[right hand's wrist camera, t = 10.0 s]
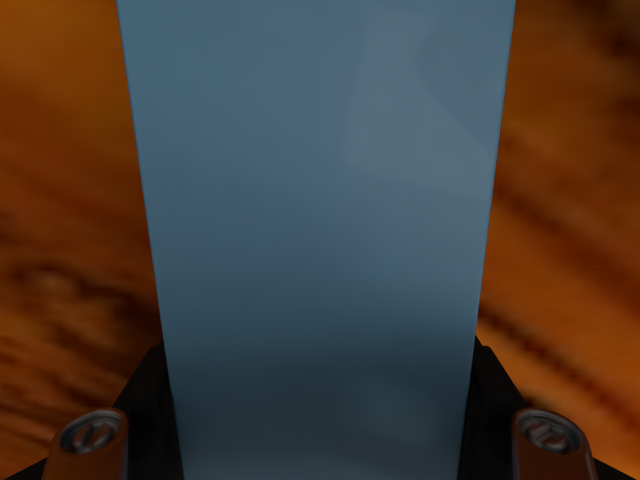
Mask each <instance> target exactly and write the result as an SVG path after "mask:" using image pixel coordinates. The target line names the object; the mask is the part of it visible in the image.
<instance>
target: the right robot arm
mask: <svg viewBox="0 0 640 480" xmlns="http://www.w3.org/2000/svg"><path fill="white" fill-rule="evenodd" d="M4 480H183V474H182V467H181V460H180V452H179V445H178V438H177V431H176V423H175V416H174V408H173V401H172V393H171V388H170V381H169V374H168V367H167V360H166V353H165V346H164V339H162V340H161V342H160V344H159V345H158V346H153V347H151V348H150V349H149V350H148V352H147V353H146V355H145V356H144V358H143V359H142V361H141V363H140V364H139V366H138V367H137V369H136V370H135V372H134V373H133V375H132V377H131V378H130V380H129V381H128V383H127V384H126V386H125V387H124V389H123V391H122V392H121V394H120V395H119V397H118V398H117V400H116V401H115V403H114V404H113V406H112V408H108V407H105V408H98V409H93V410H90V411H87V412H84V413H82V414H80V415H78V416H76V417H74V418H72V419H71V420H69V421H68V422H67V423H65V424H64V425H63V426H62V427H61V428H60V429H59V430H58V431H57V432H56V434H55V436H54V438H53V440H52V442H51V446H50V449H49V453H48V457H47V458H45V459H43V460H41V461H39V462H37V463H35V464H33V465H31V466H30V467H28V468H26V469H24V470H22V471H20V472H18V473H16V474H14V475H12V476H10V477H8V478H6V479H4ZM458 480H636V479H634V478H632V477H630V476H628V475H626V474H624V473H622V472H621V471H619V470H617V469H615V468H613V467H611V466H609V465H607V464H605V463H603V462H601V461H599V460H597V459H595V458H593V457H592V453H591V449H590V446H589V442H588V440H587V438H586V436H585V434H584V432H583V431H582V430H581V429H580V428H579V427H578V426H577V425H576V424H575V423H573V422H572V421H571V420H569V419H568V418H566V417H564V416H562V415H560V414H558V413H556V412H553V411H550V410H547V409H542V408H535V407H532V408H529V407H528V405H527V404H526V402H525V401H524V399H523V397H522V396H521V394H520V393H519V391H518V390H517V388H516V387H515V385H514V383H513V382H512V380H511V379H510V377H509V376H508V374H507V373H506V371H505V369H504V368H503V366H502V365H501V363H500V362H499V360H498V359H497V357H496V355H495V354H494V352H493V351H492V350H491V348H490V347H488V346H482V344H481V343H480V341H479V339H478V338H477V336H476V335H475V341H474V350H473V358H472V366H471V374H470V382H469V391H468V399H467V407H466V415H465V424H464V432H463V440H462V448H461V457H460V465H459V473H458Z"/></svg>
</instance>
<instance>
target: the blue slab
mask: <svg viewBox="0 0 640 480" xmlns="http://www.w3.org/2000/svg"><path fill="white" fill-rule="evenodd" d="M515 4H516V0H116V5H117V12H118V19H119V26H120V33H121V40H122V47H123V54H124V62H125V69H126V76H127V83H128V90H129V97H130V104H131V111H132V118H133V125H134V133H135V140H136V147H137V154H138V161H139V168H140V175H141V182H142V189H143V197H144V204H145V211H146V218H147V225H148V232H149V239H150V246H151V253H152V261H153V268H154V275H155V282H156V289H157V296H158V303H159V310H160V317H161V325H162V332H163V339H164V346H165V353H166V360H167V367H168V374H169V381H170V388H171V393H172V401H173V408H174V416H175V423H176V431H177V438H178V445H179V452H180V460H181V467H182V474H183V480H458V473H459V465H460V457H461V448H462V440H463V432H464V424H465V415H466V407H467V399H468V391H469V382H470V374H471V366H472V358H473V350H474V341H475V333H476V325H477V317H478V308H479V300H480V292H481V284H482V275H483V267H484V259H485V251H486V242H487V234H488V226H489V218H490V209H491V201H492V193H493V185H494V177H495V168H496V160H497V152H498V144H499V135H500V127H501V119H502V111H503V102H504V94H505V86H506V78H507V69H508V61H509V53H510V45H511V36H512V28H513V20H514V12H515Z"/></svg>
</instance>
